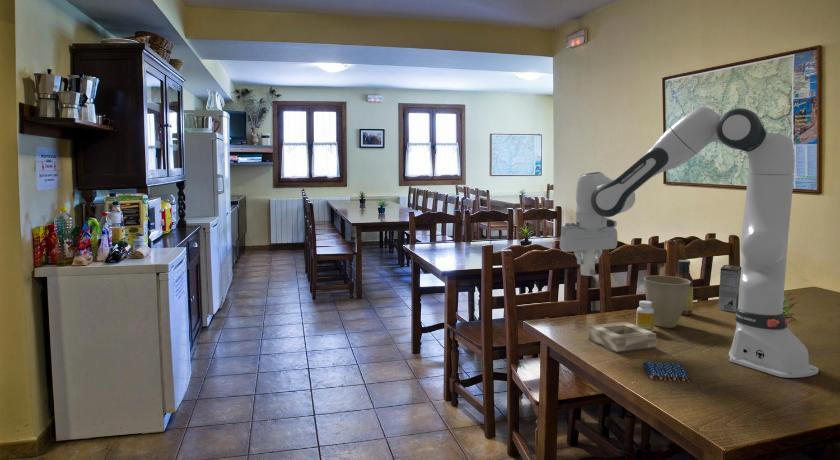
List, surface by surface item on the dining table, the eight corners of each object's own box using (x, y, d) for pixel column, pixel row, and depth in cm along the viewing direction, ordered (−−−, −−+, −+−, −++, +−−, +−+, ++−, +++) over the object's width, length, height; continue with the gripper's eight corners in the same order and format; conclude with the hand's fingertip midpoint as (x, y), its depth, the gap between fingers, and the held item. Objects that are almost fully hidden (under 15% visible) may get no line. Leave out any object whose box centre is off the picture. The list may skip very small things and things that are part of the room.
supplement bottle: (654, 332, 195) (655, 304, 194) (637, 332, 197) (638, 303, 195) (651, 328, 201) (652, 300, 200) (634, 327, 202) (636, 299, 201)
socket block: (655, 348, 179) (656, 333, 179) (616, 353, 175) (617, 338, 174) (625, 335, 193) (626, 321, 192) (588, 339, 188) (589, 325, 188)
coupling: (599, 275, 193) (600, 248, 192) (588, 276, 192) (588, 249, 191) (586, 272, 200) (587, 245, 199) (575, 273, 198) (576, 246, 197)
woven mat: (691, 384, 153) (692, 376, 152) (648, 381, 155) (648, 373, 155) (682, 369, 163) (682, 362, 163) (641, 367, 165) (642, 360, 165)
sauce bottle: (693, 312, 221) (696, 260, 218) (691, 316, 215) (694, 262, 213) (674, 310, 224) (677, 258, 222) (671, 314, 219) (674, 261, 217)
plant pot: (675, 333, 195) (678, 286, 193) (633, 324, 206) (635, 279, 204) (696, 325, 204) (698, 279, 202) (654, 316, 215) (656, 273, 213)
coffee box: (721, 304, 232) (724, 264, 231) (740, 307, 229) (742, 266, 227) (717, 309, 225) (719, 267, 223) (736, 312, 221) (739, 269, 219)
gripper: (567, 224, 187) (566, 267, 189) (621, 221, 194) (619, 263, 196) (556, 222, 193) (555, 263, 195) (609, 219, 200) (607, 260, 202)
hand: (587, 263), depth 195 cm, fingers closed on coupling, 4 cm apart
